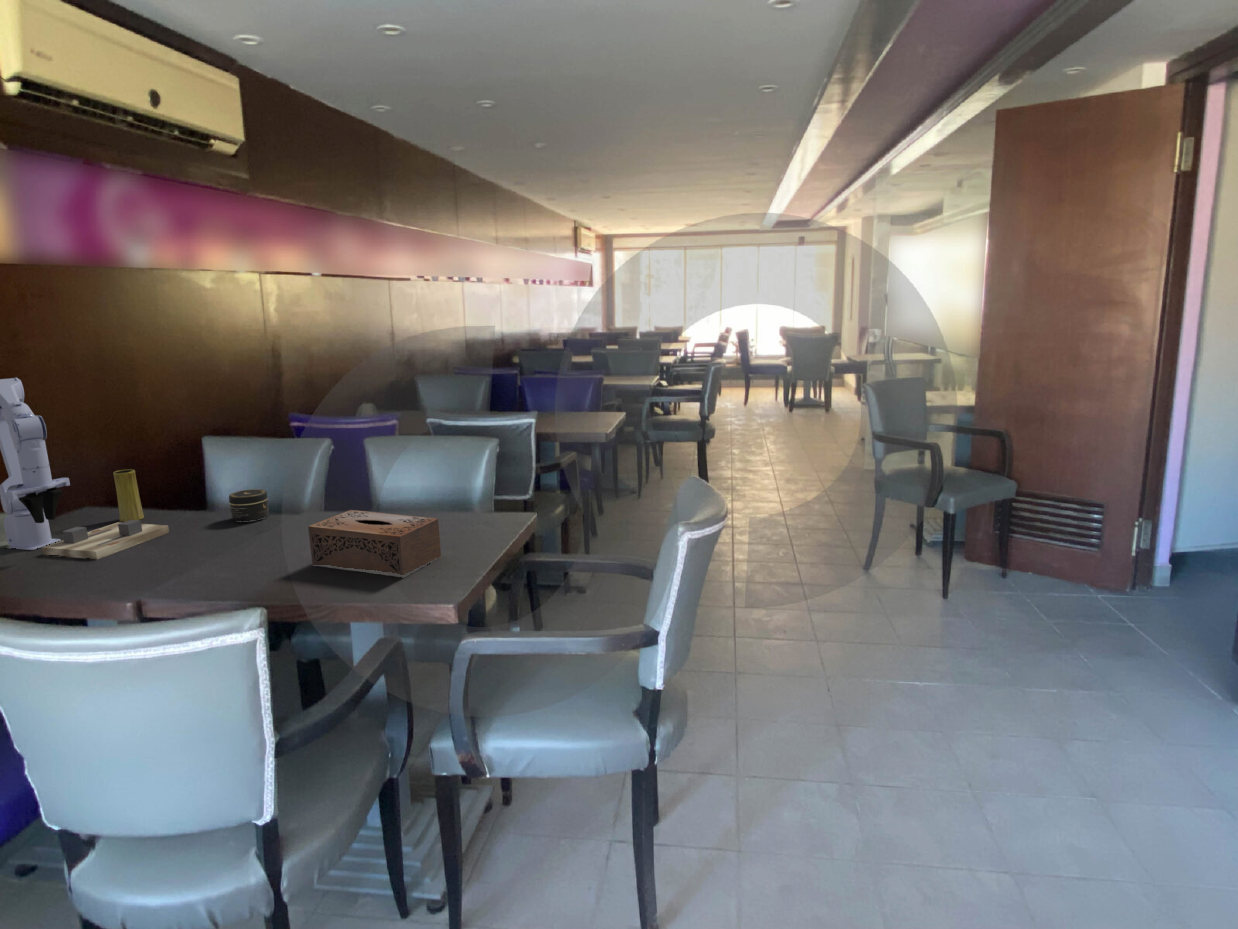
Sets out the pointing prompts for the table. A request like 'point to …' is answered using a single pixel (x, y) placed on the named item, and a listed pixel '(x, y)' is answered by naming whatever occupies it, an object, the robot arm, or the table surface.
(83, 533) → the inner knob
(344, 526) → the tissue box cover
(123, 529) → the outer knob
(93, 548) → the wooden board
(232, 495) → the jar
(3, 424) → the robot arm
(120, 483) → the vase
